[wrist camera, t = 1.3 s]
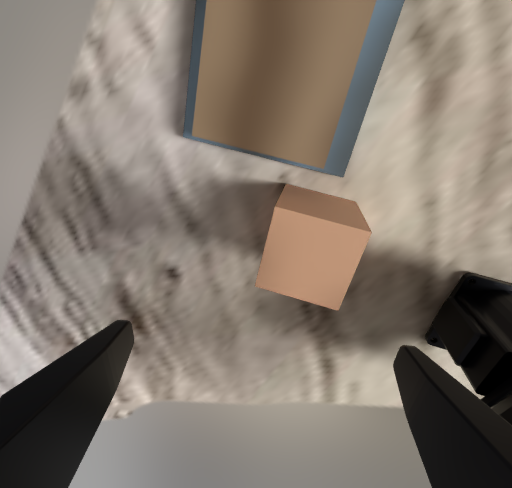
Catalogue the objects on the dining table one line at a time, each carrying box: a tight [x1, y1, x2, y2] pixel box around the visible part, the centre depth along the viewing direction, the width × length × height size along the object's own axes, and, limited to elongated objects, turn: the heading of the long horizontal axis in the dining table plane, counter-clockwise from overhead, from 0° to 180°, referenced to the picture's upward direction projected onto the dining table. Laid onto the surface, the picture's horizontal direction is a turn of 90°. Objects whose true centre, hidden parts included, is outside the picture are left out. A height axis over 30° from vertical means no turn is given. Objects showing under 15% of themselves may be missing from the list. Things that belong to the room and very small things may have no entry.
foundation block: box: [183, 0, 405, 177], centre depth 16 cm, size 11×11×3 cm
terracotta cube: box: [255, 184, 372, 311], centre depth 18 cm, size 5×5×6 cm
